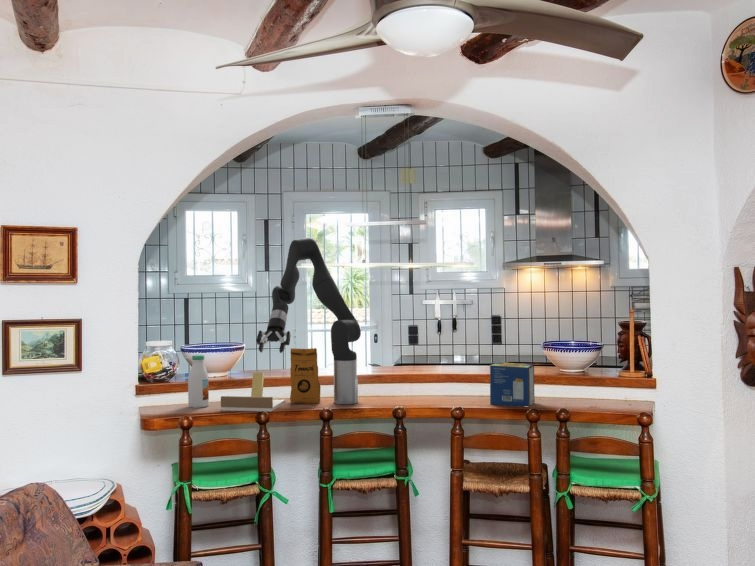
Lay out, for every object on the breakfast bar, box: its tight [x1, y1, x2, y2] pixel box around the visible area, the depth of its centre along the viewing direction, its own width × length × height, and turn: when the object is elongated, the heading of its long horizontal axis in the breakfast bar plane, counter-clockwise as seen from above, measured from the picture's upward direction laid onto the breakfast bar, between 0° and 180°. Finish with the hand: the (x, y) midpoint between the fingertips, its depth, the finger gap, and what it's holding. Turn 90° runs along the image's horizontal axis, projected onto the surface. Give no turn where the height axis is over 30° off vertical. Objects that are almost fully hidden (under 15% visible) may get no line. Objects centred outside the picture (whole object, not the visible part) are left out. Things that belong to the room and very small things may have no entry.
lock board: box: [220, 395, 286, 412], centre depth 255 cm, size 20×18×5 cm
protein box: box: [489, 361, 536, 407], centre depth 258 cm, size 10×15×16 cm
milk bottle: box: [187, 354, 210, 409], centre depth 257 cm, size 8×8×20 cm
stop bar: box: [250, 372, 265, 397], centre depth 260 cm, size 4×2×11 cm, turn 81°
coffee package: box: [289, 347, 321, 405], centre depth 263 cm, size 10×12×22 cm
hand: (270, 351), depth 278 cm, fingers open, 8 cm apart
